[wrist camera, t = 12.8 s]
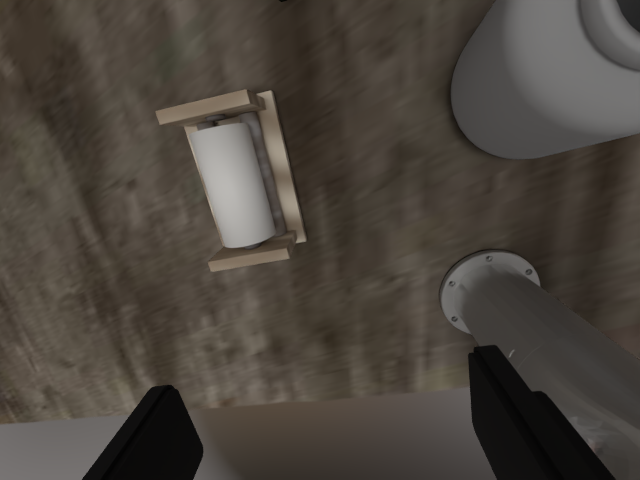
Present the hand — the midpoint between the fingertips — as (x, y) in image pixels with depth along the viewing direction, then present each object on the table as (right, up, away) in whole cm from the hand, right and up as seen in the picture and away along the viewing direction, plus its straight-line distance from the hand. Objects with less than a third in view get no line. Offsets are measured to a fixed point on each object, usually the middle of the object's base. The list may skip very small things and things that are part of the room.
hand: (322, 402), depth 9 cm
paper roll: (-9, +12, +26) cm, 30 cm away
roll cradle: (-9, +13, +28) cm, 32 cm away
